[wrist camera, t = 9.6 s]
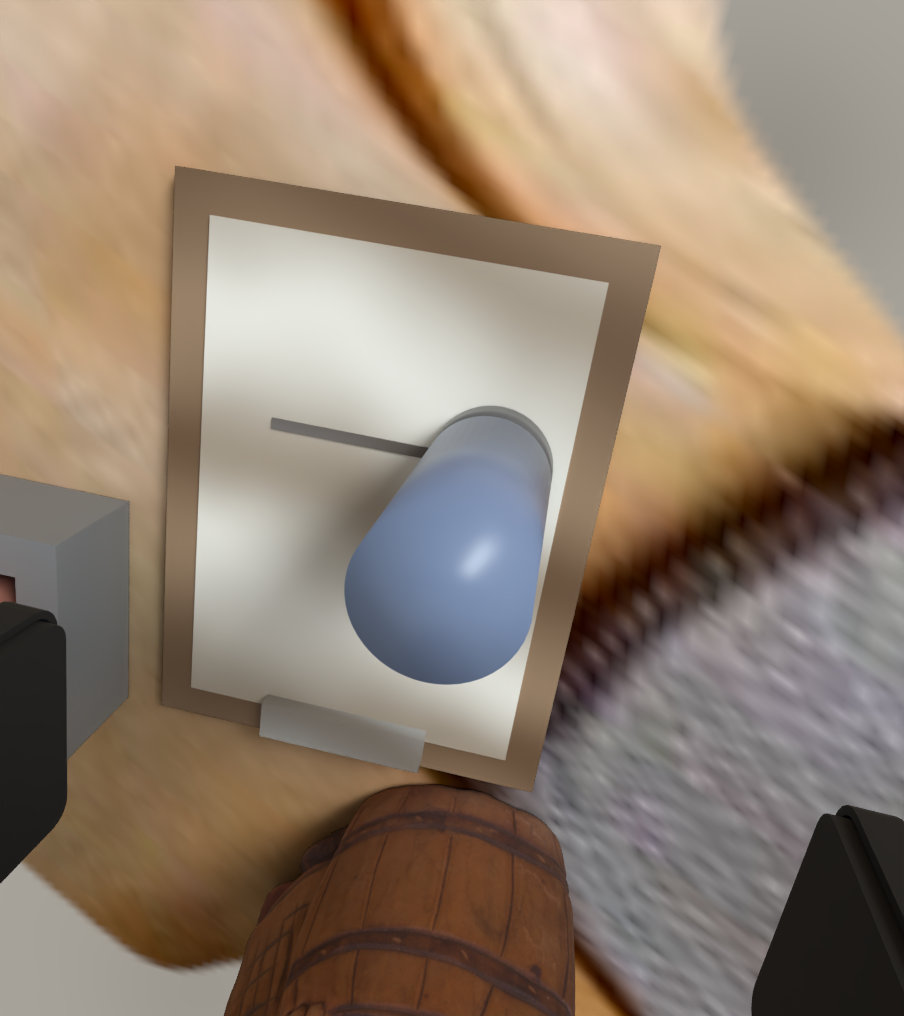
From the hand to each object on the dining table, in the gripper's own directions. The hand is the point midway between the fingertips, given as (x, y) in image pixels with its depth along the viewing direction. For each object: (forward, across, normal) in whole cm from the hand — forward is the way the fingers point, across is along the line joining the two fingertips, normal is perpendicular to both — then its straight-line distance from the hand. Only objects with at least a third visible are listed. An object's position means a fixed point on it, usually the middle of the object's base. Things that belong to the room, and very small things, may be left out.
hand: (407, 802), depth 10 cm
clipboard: (+13, +4, +1) cm, 13 cm away
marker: (+12, +1, -1) cm, 12 cm away
